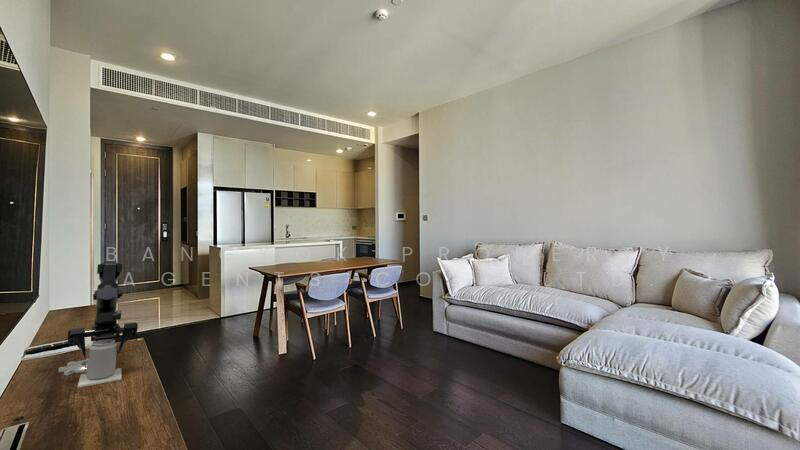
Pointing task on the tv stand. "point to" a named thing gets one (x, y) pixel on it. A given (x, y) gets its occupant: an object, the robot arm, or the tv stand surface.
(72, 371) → the sprocket
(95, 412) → the tv stand surface
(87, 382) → the pad
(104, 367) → the can
